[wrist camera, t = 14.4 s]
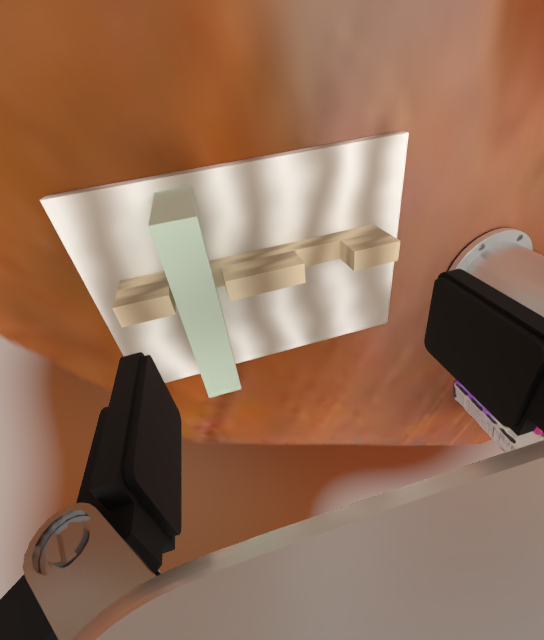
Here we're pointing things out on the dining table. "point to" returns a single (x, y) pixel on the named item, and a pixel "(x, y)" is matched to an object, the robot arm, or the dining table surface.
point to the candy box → (494, 422)
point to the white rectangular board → (248, 248)
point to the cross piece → (193, 286)
